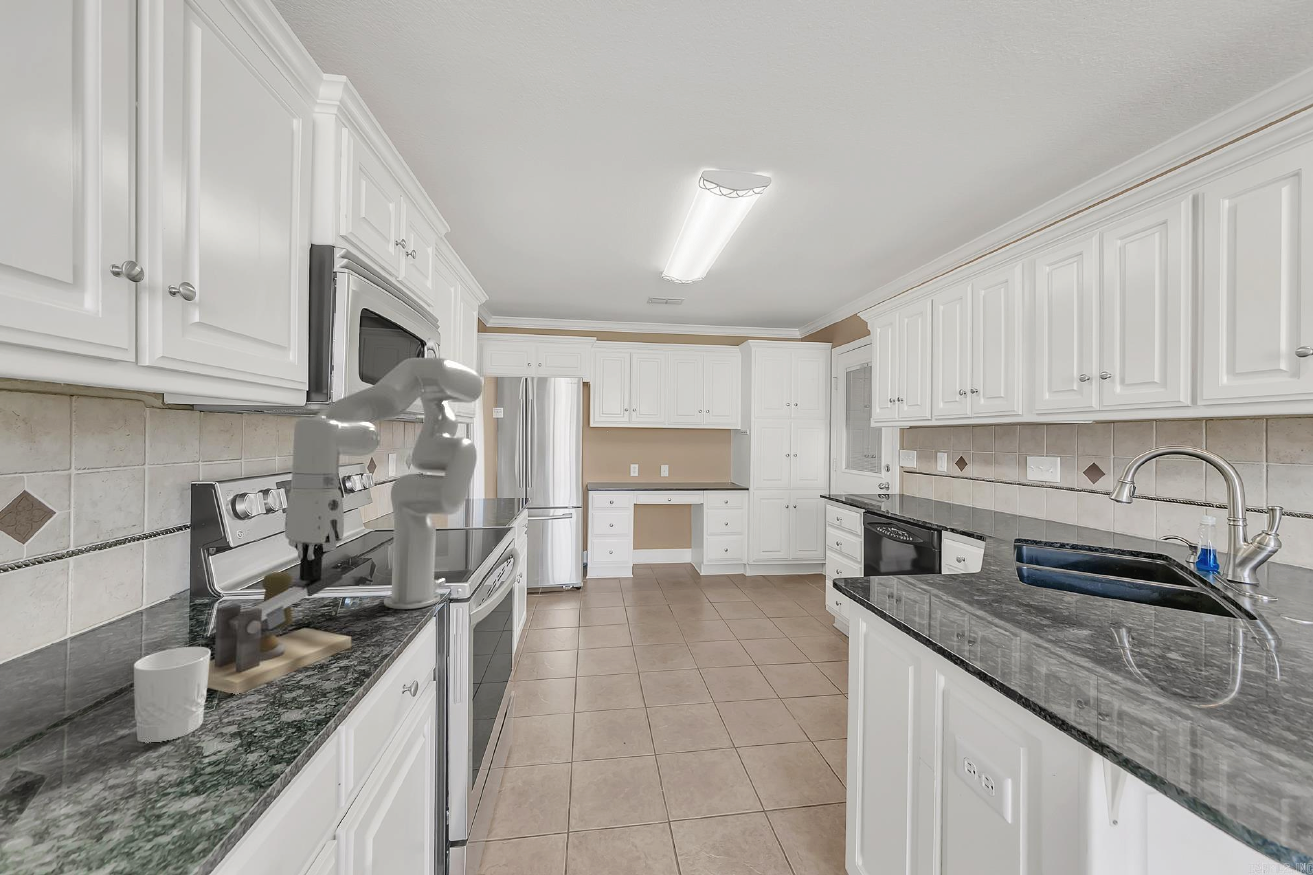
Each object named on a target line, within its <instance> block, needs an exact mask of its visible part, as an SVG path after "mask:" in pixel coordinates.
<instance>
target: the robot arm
mask: <svg viewBox="0 0 1313 875" xmlns="http://www.w3.org/2000/svg"><path fill="white" fill-rule="evenodd" d="M482 393H483V382H482V379H481V377H480V376H479V374H478V373H477V372H476V371H475V370H473V369H471V368H469V367H468V366H465V365H462V364H460V363H458V362H456V361H453V360H451V359H448V358H441V357H410V358H406V359H404V360H402V361H401V362H400V363H398V365H395V367H394V368H392V369H391V370H390V371H389V372H388V373H387V374H385V376H384V377H382V378H381V379H379V380H378V382H376V383H375V384H374V385H372V386H370V387H367V388H365V389H362V390H359V391H357V392H355V393H353V394H349V395H347V396H344V397H342V398H340V399H338V400H336V401H333V402H332V403H330V404H328V405H327V406H326V407H324V408H323V409H322V410H321V411H320V412H318V413H317V414H316V415H315V416H314V417H301V418H298V419H297V420H296V421H295V422H294V428H293V430H294V431H293V444H292V445H293V447H292V448H293V449H292V464H291V465H292V466H291V469H292V470H291V483H290V484H291V489H290V492H289V495H288V500H287V505H286V510H285V517H284V519H285V520H284V521H285V522H284V537H285V538H286V539H287V540H288V545H289V546H290V547H292V548H294V549H295V550H296V551H297V558H298V559H299V560H300V562H299V581H311V580H315V579H319V578H321V570H323V569H322V568H323V559H324V557H326V553H327V552H329V551H334V550H337V542H340V541H342V540H343V539H344V531H345V530H344V529H345V527H344V526H345V525H344V523H345V519H344V518H345V517H344V515H345V514H344V502H343V497H342V496H343V495H342V492H341V490H339V483H340V480H339V474H340V456H344V457H345V456H346V457H364V456H367V455H369V454H370V455H371V453H373V452H374V451H376V450H377V448H379V445H380V442H381V434H380V431H379V429H378V428H377V427H376V426H375V425H374V424H373V423H375V422H376V423H377V422H382V421H386V420H390V419H392V418H396V417H399V416H401V415H403V414H404V413H405V412H406V411H407V410H408V409H409V408H410V407H411V406H412V405H413V404H414V403H415V402H416V401H417V400H418V399H420V401H421V404H422V407H423V412H424V413H423V414H424V417H423V423H422V425H421V428H420V431H419V434H418V436H417V440H416V441H415V444H414V447H413V450H412V454H411V465H412V466H413V468H414V469H416V470H417V471H420V472H425V473H431V474H422V473H409V474H404V475H401V476H400V477H398V478H397V479H396V480H395V481H394V482H393V484H392V486H391V488H390V500H391V506H392V507H391V508H392V512H393V546H392V547H393V550H392V551H393V552H392V571H391V572H392V574H391V575H392V576H391V594H388V595H386V597H385V598H384V599H383V605H384V606H385V607H387V608H390V609H396V610H412V609H420V608H425V607H429V606H433V605H435V604H437V603H438V602H439V601H440V600H441V599H440V598H441V594H440V593H439V592H437V591H436V590H437V589H438V588H440V587H442V586H445V584H446V583H447V582H446V578H443V577H442V578H439V579H435V561H436V560H435V559H436V542H437V541H436V539H437V537H436V536H437V534H436V533H437V530H436V526H435V522H434V521H433V518H432V516H431V515H443V516H449V515H450V516H451V515H454V514H455V515H456V514H457V513H459V511H461V509H462V508H463V505H464V503H465V500H466V497H467V494H468V492H469V488H470V485H471V481H472V478H473V476H474V472H475V469H476V464H477V460H478V458H477V457H478V456H477V448H476V446H475V444H474V442H473V441H472V440H471V439H468V438H467V437H460V436H456V435H457V431H458V427H459V422H458V418H457V416H456V414H455V413H454V411H453V409H452V408H451V406H450V404H449V403H467V404H468V403H473V402H476V401H477V400H478V399H479V398H480V397H481V395H482ZM435 474H437V475H435ZM438 474H444V475H438Z"/></svg>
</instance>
